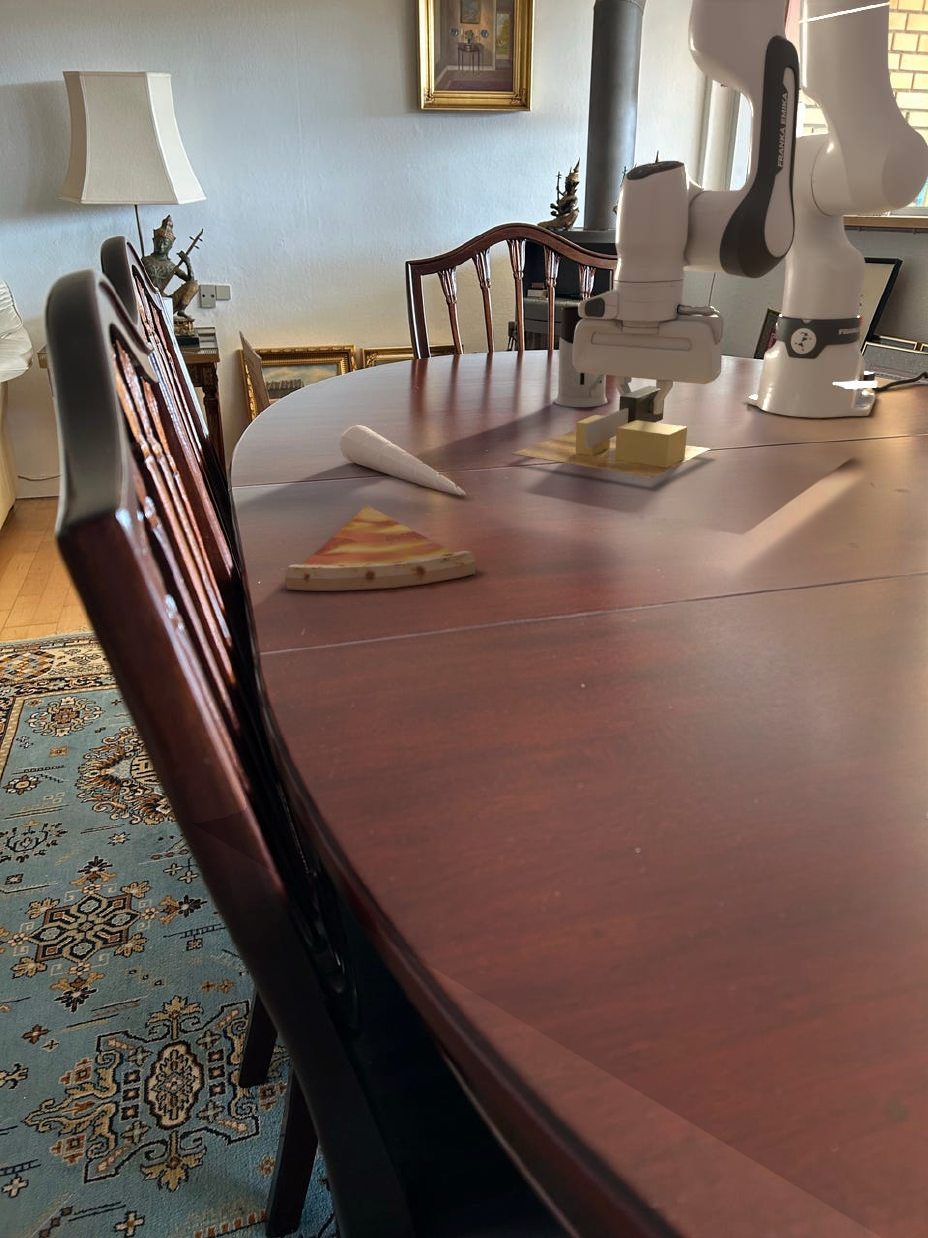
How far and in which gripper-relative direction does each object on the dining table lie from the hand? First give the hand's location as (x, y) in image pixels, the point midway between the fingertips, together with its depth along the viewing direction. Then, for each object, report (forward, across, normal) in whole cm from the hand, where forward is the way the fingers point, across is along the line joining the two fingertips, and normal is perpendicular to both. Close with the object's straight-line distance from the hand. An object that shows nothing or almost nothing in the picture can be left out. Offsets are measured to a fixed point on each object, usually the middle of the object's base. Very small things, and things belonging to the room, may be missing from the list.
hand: (641, 411), depth 120 cm
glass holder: (+5, +20, -21) cm, 29 cm away
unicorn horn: (+4, +17, +29) cm, 34 cm away
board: (+5, -1, +9) cm, 11 cm away
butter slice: (+3, +1, +10) cm, 11 cm away
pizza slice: (+4, 0, +49) cm, 50 cm away
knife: (+2, 0, +6) cm, 6 cm away
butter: (+3, -7, +10) cm, 13 cm away
